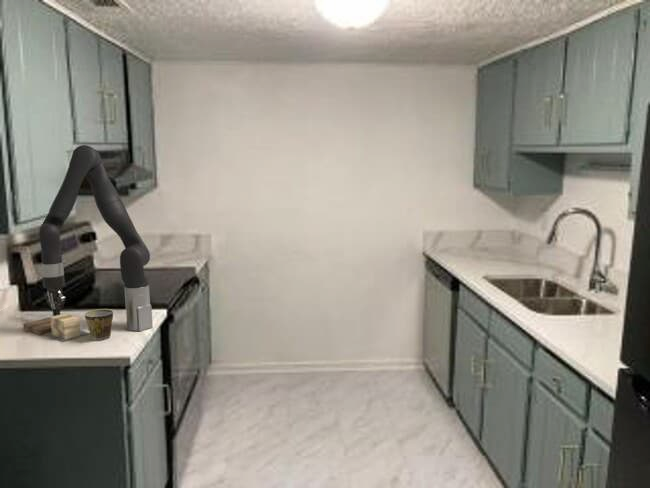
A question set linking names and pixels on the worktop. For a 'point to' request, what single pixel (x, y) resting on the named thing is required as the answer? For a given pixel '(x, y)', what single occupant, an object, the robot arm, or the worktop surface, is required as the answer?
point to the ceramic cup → (99, 323)
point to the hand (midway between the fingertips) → (56, 317)
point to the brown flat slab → (39, 326)
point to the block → (65, 326)
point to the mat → (65, 339)
